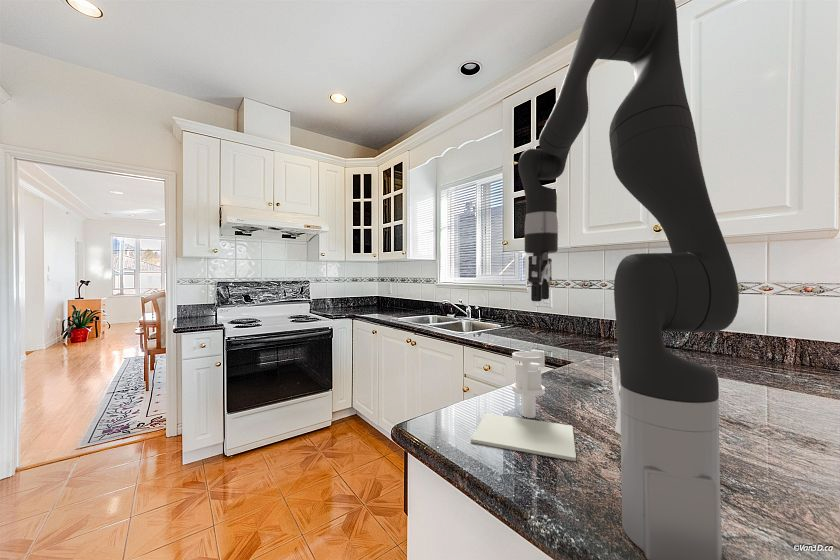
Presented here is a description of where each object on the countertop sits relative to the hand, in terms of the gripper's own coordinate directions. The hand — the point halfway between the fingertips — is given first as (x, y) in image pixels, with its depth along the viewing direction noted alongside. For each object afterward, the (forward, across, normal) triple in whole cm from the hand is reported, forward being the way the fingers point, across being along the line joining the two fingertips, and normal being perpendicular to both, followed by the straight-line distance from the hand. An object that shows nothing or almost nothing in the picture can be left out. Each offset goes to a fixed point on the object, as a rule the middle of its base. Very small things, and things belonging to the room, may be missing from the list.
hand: (540, 300), depth 81 cm
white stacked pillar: (+26, -6, +1) cm, 27 cm away
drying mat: (+26, -17, -1) cm, 31 cm away
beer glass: (+26, -5, -19) cm, 32 cm away
